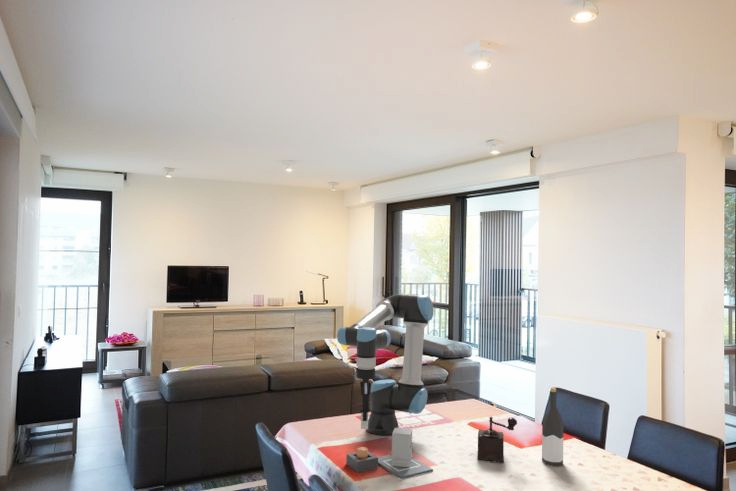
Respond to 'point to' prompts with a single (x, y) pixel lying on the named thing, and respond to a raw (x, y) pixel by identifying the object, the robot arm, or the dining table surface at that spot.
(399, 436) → the supplement box
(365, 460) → the button housing
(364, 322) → the robot arm
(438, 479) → the dining table surface
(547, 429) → the wine bottle
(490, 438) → the manual coffee grinder
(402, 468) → the slate board
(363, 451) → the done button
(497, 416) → the dining table surface
